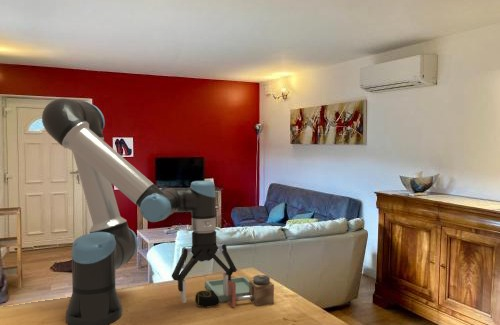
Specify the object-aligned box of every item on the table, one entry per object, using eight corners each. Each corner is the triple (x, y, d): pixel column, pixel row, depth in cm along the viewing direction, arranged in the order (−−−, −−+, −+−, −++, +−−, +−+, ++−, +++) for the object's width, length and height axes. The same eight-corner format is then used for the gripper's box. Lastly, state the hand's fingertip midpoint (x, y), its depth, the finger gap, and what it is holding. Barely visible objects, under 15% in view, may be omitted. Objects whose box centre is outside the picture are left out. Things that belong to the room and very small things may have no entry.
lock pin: (232, 306, 128) (232, 284, 128) (228, 302, 132) (228, 280, 131) (272, 301, 133) (272, 279, 133) (267, 296, 137) (267, 275, 136)
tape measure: (219, 308, 129) (219, 296, 128) (197, 310, 126) (197, 298, 126) (214, 299, 135) (214, 288, 135) (193, 302, 133) (193, 290, 133)
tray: (217, 303, 132) (217, 296, 132) (204, 287, 146) (204, 281, 146) (261, 297, 138) (261, 290, 137) (244, 282, 151) (244, 276, 151)
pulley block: (256, 306, 130) (256, 279, 129) (249, 299, 135) (249, 274, 135) (273, 303, 132) (274, 277, 132) (265, 297, 138) (266, 272, 137)
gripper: (165, 237, 121) (167, 308, 122) (245, 229, 131) (246, 295, 132) (161, 232, 128) (162, 299, 129) (237, 225, 138) (238, 288, 139)
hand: (205, 298), depth 131 cm, fingers open, 13 cm apart
